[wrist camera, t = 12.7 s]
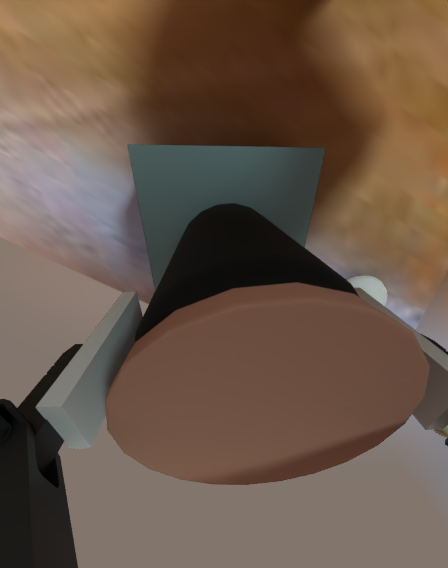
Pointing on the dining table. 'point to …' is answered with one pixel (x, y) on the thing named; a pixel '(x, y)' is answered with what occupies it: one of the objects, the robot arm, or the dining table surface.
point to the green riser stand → (220, 189)
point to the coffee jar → (259, 361)
